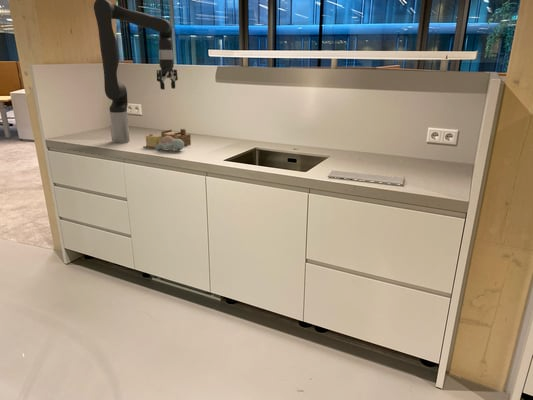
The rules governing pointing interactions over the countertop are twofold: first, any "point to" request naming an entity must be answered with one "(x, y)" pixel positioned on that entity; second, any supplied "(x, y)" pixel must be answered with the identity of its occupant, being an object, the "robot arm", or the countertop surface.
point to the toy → (170, 144)
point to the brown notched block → (178, 136)
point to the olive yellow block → (153, 140)
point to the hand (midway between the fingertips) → (168, 89)
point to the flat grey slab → (367, 177)
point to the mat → (149, 147)
